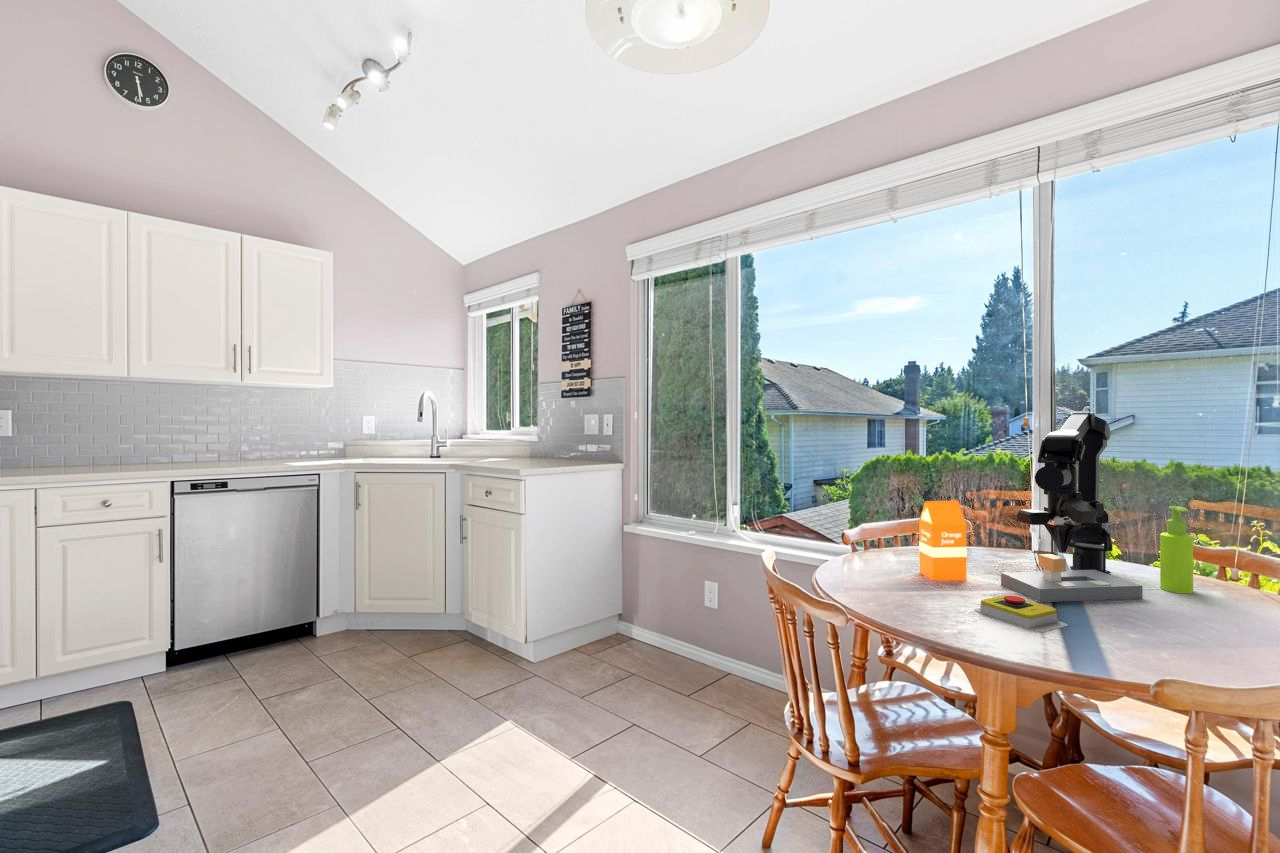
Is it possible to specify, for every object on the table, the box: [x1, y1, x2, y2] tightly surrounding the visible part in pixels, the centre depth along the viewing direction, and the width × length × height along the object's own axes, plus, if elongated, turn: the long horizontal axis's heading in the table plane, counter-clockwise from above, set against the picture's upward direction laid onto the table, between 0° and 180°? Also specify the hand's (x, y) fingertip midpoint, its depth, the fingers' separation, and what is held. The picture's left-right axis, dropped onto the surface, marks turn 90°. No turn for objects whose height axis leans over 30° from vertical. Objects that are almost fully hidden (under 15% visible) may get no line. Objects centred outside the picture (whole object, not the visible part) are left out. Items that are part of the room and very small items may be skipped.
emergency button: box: [973, 594, 1069, 633], centre depth 128 cm, size 9×4×15 cm
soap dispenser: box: [1159, 505, 1194, 594], centre depth 144 cm, size 6×7×20 cm
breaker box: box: [1000, 569, 1144, 603], centre depth 145 cm, size 24×14×3 cm, turn 92°
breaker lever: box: [1038, 553, 1067, 582], centre depth 145 cm, size 3×5×7 cm, turn 2°
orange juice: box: [918, 500, 968, 581], centre depth 160 cm, size 8×9×20 cm
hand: (1062, 552), depth 145 cm, fingers closed
